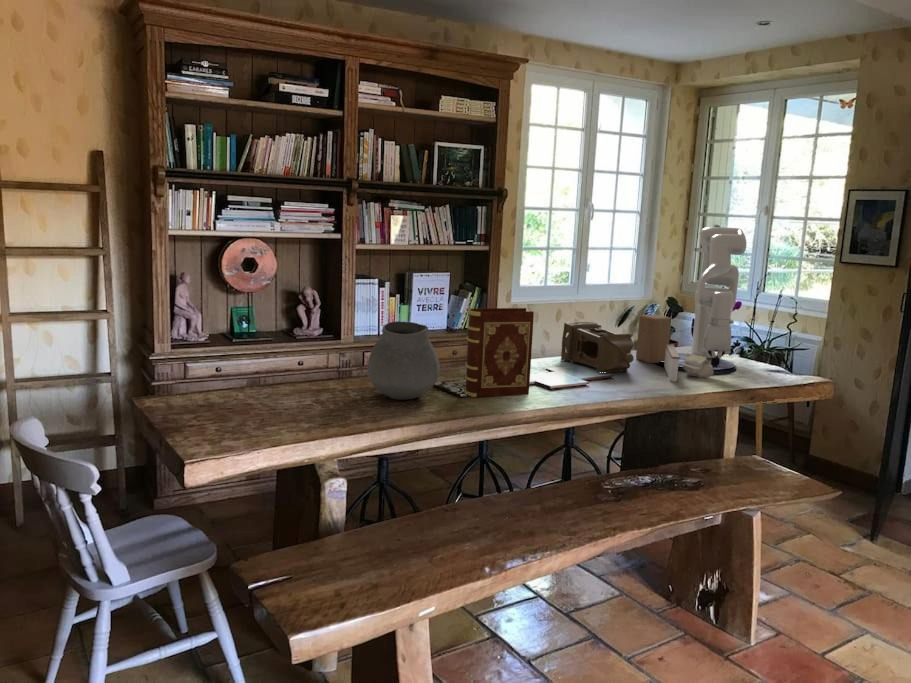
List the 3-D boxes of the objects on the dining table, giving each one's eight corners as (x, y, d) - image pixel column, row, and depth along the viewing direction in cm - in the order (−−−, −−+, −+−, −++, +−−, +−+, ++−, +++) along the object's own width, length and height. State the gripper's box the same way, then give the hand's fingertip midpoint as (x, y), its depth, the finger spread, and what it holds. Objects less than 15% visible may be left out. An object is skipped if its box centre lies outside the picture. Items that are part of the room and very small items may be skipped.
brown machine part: (643, 382, 296) (653, 338, 294) (610, 381, 287) (619, 334, 285) (588, 361, 326) (596, 321, 323) (556, 359, 317) (564, 317, 314)
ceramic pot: (357, 403, 243) (358, 328, 238) (378, 385, 266) (379, 316, 261) (430, 410, 238) (432, 334, 233) (444, 391, 262) (447, 321, 257)
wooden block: (634, 359, 327) (638, 314, 323) (652, 357, 331) (656, 313, 327) (649, 364, 318) (653, 318, 314) (667, 362, 322) (672, 317, 318)
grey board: (663, 366, 316) (665, 343, 314) (670, 366, 315) (673, 344, 313) (669, 380, 290) (671, 356, 288) (677, 381, 289) (679, 357, 287)
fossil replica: (712, 381, 293) (711, 377, 302) (716, 360, 292) (714, 357, 301) (681, 375, 296) (680, 372, 305) (685, 355, 295) (684, 352, 304)
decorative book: (468, 397, 255) (472, 311, 249) (461, 391, 262) (465, 308, 256) (529, 395, 261) (534, 311, 255) (521, 389, 268) (525, 307, 262)
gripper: (737, 322, 297) (732, 366, 301) (698, 319, 300) (694, 363, 303) (741, 325, 290) (735, 370, 294) (701, 322, 293) (696, 367, 296)
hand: (714, 366), depth 299 cm, fingers closed
